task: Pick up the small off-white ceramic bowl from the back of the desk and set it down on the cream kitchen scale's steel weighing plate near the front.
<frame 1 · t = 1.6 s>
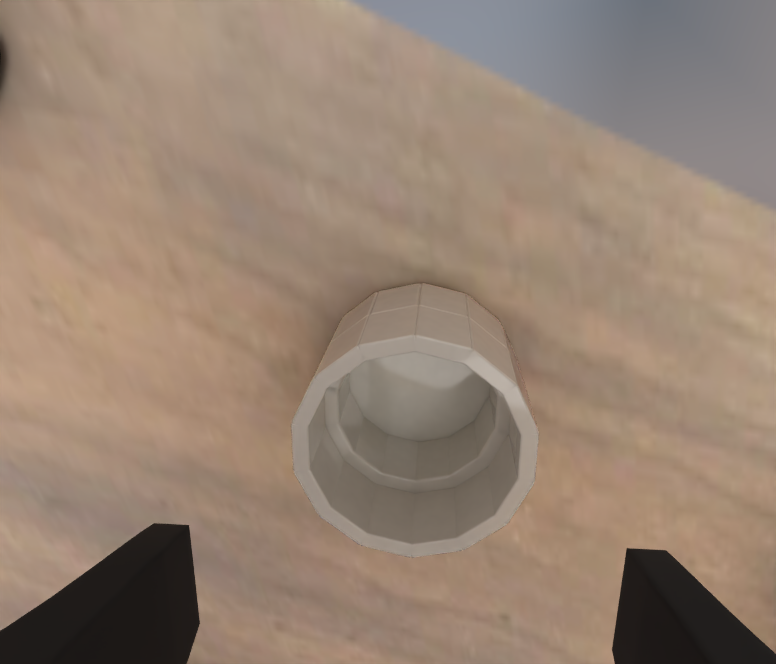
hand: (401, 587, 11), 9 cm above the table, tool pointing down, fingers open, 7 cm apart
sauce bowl: (420, 370, 20), on the table
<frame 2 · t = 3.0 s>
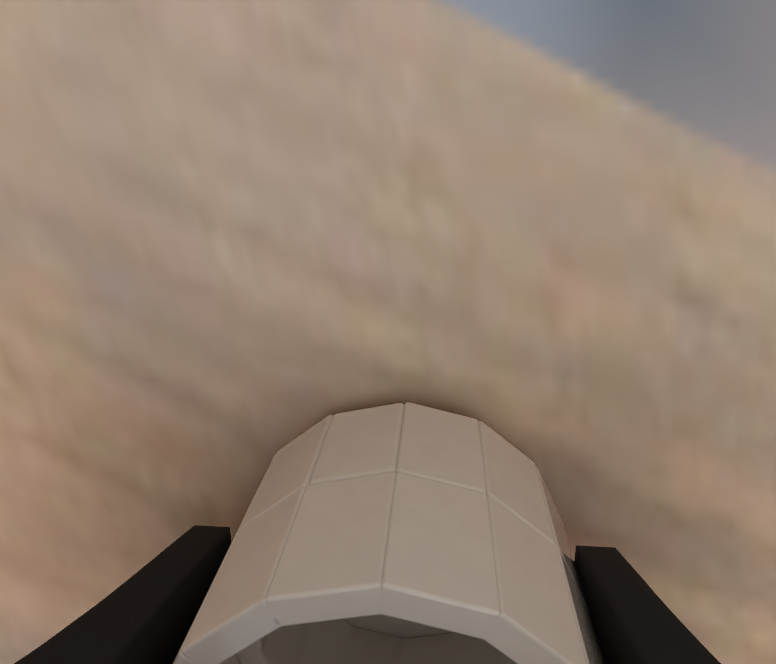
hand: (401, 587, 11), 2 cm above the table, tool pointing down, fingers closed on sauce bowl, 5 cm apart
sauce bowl: (404, 527, 12), on the table, touching gripper
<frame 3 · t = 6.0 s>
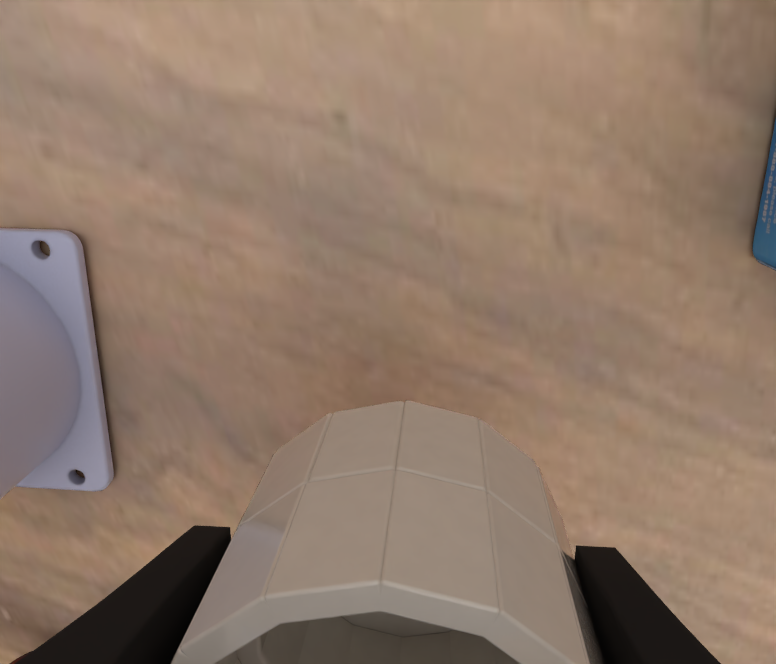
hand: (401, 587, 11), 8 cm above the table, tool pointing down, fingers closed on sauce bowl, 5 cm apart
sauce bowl: (404, 526, 12), point 7 cm above the table, touching gripper
when the fingers open (4 cm above the table, at t = 8.9 s): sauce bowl stays where it is, resting on scale.
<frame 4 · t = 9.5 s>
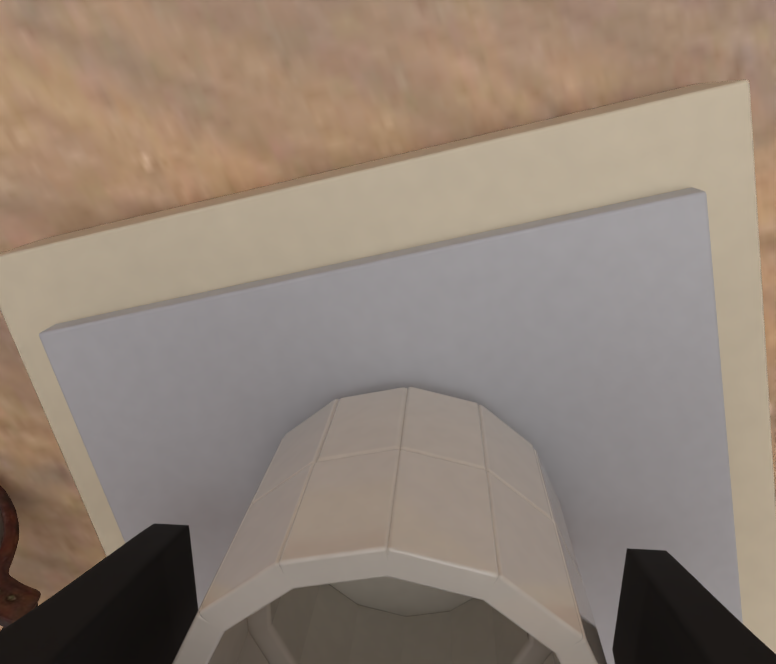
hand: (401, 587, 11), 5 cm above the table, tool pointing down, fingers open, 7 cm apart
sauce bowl: (407, 509, 13), point 3 cm above the table, touching scale
scale: (414, 443, 16), on the table
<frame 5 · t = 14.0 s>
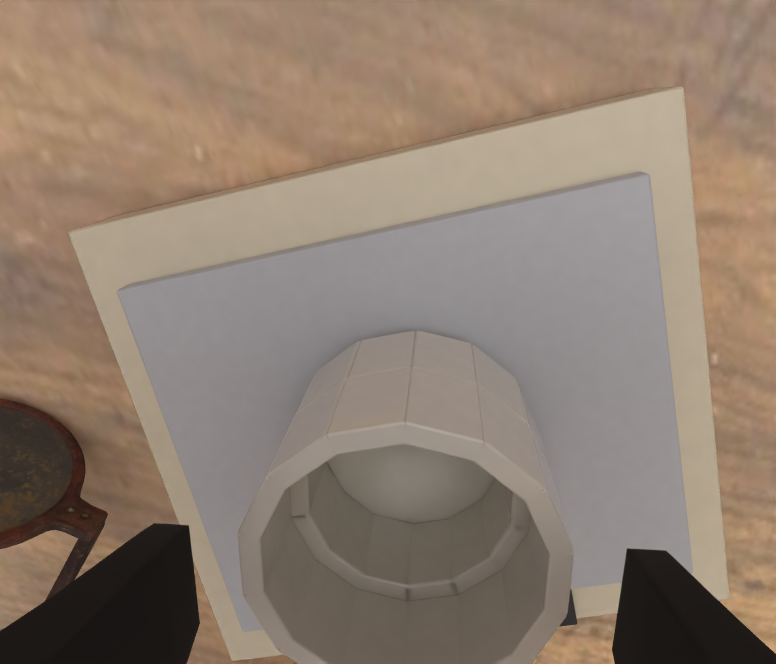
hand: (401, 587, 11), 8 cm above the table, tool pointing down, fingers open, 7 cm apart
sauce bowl: (414, 435, 16), point 3 cm above the table, touching scale
scale: (419, 390, 18), on the table
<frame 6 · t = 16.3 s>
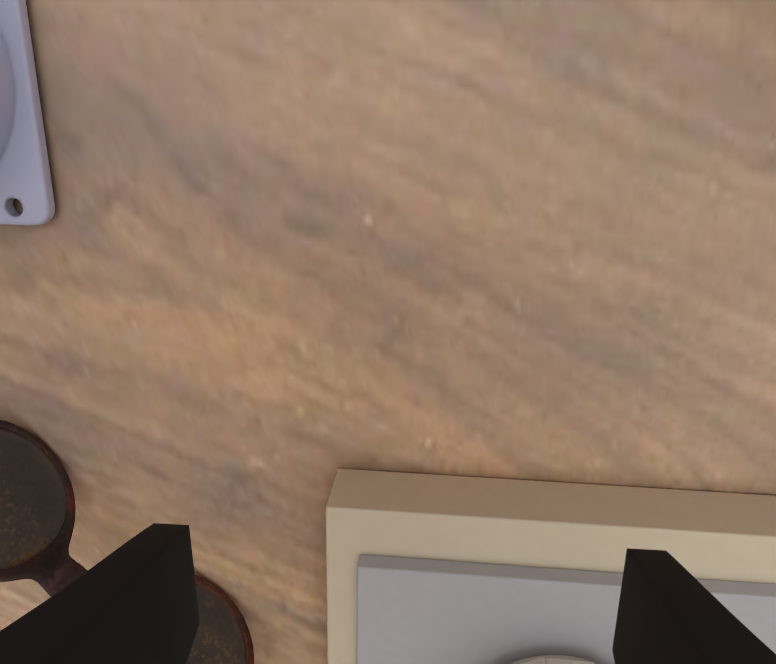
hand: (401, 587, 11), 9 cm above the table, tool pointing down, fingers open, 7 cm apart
eyeglasses: (18, 623, 24), on the table
scale: (541, 647, 23), on the table
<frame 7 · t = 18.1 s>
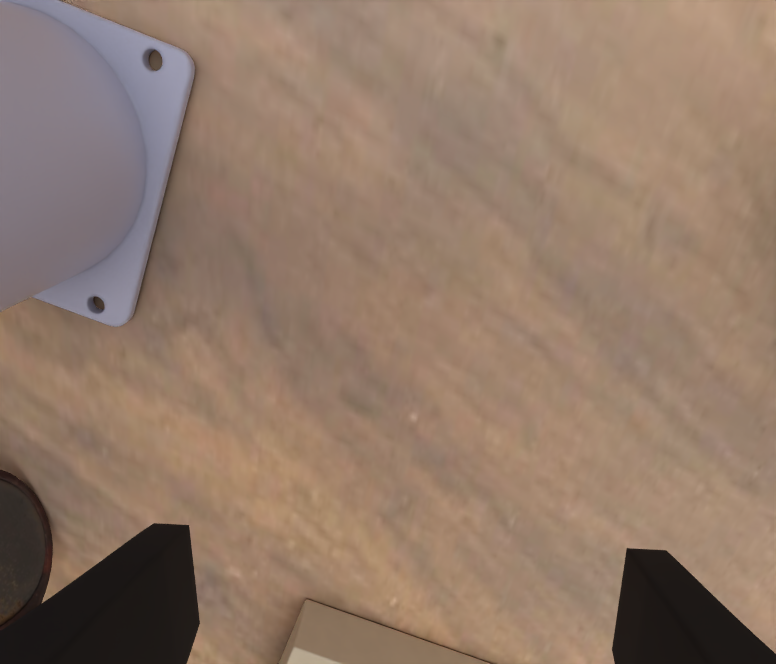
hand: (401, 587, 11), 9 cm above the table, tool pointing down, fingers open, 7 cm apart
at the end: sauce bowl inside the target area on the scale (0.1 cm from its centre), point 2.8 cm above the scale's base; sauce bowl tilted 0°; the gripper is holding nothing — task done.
